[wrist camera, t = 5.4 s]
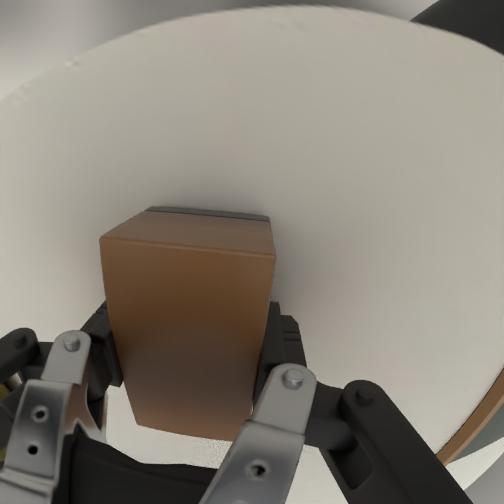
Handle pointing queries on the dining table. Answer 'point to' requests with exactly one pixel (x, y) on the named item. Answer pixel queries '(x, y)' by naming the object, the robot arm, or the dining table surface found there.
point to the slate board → (478, 426)
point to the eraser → (189, 315)
